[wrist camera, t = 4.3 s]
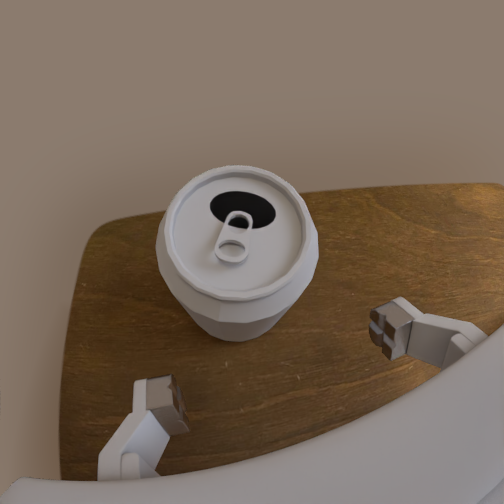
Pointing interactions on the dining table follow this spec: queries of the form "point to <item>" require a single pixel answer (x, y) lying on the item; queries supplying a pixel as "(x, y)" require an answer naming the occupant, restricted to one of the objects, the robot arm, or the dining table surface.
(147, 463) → the robot arm
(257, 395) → the dining table surface
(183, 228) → the can
